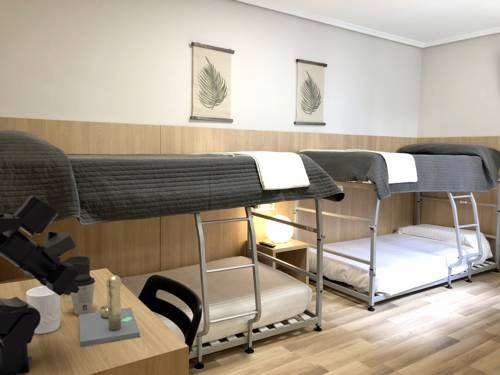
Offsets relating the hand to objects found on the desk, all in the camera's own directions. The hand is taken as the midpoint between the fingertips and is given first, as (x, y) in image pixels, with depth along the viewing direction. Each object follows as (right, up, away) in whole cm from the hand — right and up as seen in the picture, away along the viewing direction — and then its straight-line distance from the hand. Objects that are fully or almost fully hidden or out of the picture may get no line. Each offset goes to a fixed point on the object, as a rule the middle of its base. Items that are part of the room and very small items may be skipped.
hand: (77, 291), depth 97 cm
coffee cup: (-7, -11, +21) cm, 25 cm away
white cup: (-12, -12, +11) cm, 21 cm away
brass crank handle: (+4, -11, +12) cm, 16 cm away
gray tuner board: (+3, -12, +11) cm, 17 cm away
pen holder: (-17, -10, +39) cm, 44 cm away
